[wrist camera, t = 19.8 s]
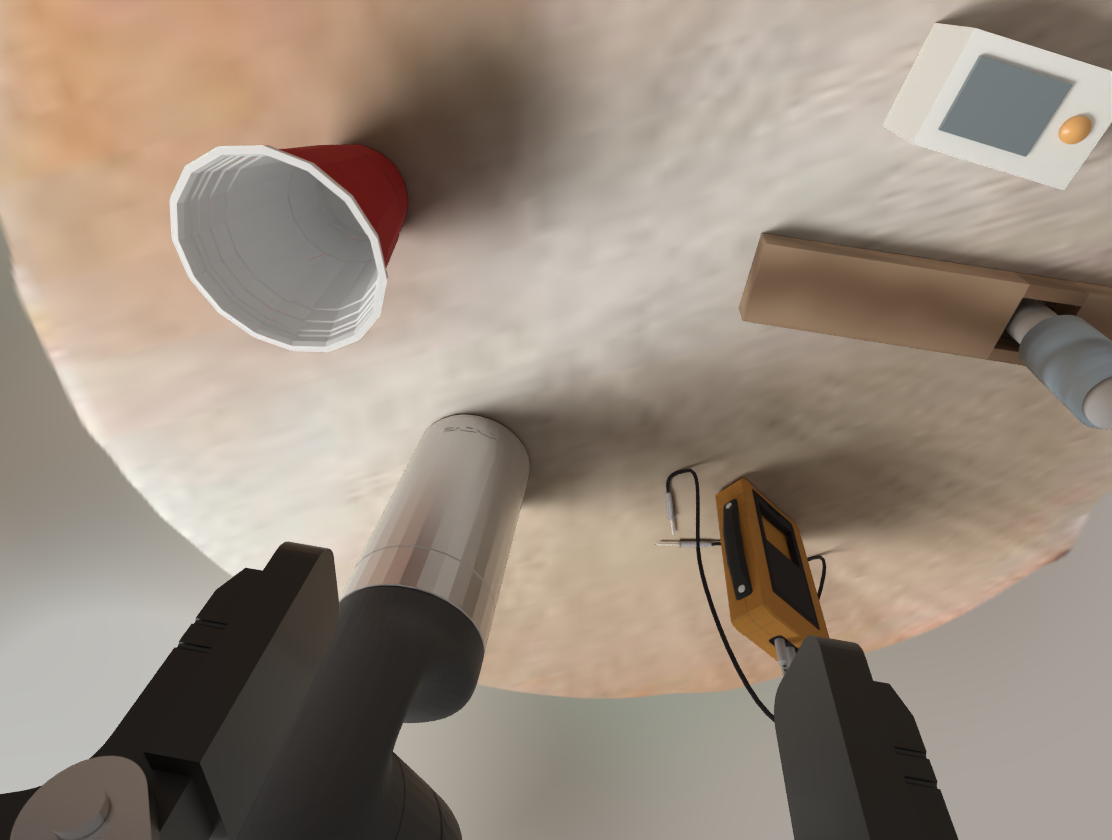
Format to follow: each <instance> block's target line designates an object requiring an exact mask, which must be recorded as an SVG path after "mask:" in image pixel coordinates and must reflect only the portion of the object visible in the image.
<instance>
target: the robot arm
mask: <svg viewBox="0 0 1112 840" xmlns="http://www.w3.org/2000/svg"><path fill="white" fill-rule="evenodd" d="M529 470H530V464H529V457H528V455H527V452H526V450H525V447H524V446H523V444H522V443H521V442H520V440H519V439H518V438H517V437H516V436H515V435H514V434H513V433H512V432H511V431H510V430H509V429H507V428H506V427H504V426H503V425H501V424H500V423H497V422H495V421H493V420H491V419H488V418H484V417H481V416H477V415H454V416H450V417H447V418H443V419H441V420H439V421H437V422H436V423H434V424H432V425H431V426H430V427H429V428H428V429H427V430H426V431H425V433H424V435H423V436H422V438H421V440H420V442H419V444H418V446H417V448H416V450H415V452H414V454H413V456H412V457H411V459H410V461H409V463H408V465H407V467H406V469H405V471H404V473H403V475H402V477H401V479H400V481H399V483H398V485H397V486H396V488H395V490H394V492H393V494H392V496H391V498H390V500H389V502H388V504H387V506H386V508H385V510H384V512H383V514H382V516H381V518H380V520H379V522H378V524H377V526H376V528H375V530H374V532H373V534H372V536H371V538H370V540H369V541H368V543H367V545H366V547H365V549H364V551H363V553H362V555H361V557H360V559H359V561H358V563H357V565H356V567H355V570H354V571H353V573H352V575H351V577H350V579H349V581H348V583H347V585H346V587H345V589H344V591H343V593H342V595H341V597H340V599H338V590H337V581H336V573H335V564H334V556H333V552H332V550H331V549H328V548H322V547H316V546H311V545H305V544H299V543H293V542H284V543H283V544H281V545H280V546H279V548H278V549H277V550H276V552H275V553H274V555H273V556H272V558H271V559H270V561H269V562H268V564H267V565H266V567H265V568H264V570H263V571H261V570H256V569H250V568H245V569H243V570H242V571H241V572H239V573H238V574H237V575H235V576H234V577H233V578H231V579H230V580H229V581H227V582H226V583H225V584H223V585H222V586H221V587H219V588H218V589H217V590H216V591H215V592H214V594H213V595H212V596H211V598H210V599H209V600H208V602H207V603H206V604H205V606H204V607H203V609H202V610H201V611H200V613H199V614H198V616H197V617H196V621H195V623H194V624H191V626H190V627H189V628H188V630H187V631H186V632H185V634H184V635H183V636H182V638H181V639H180V641H179V645H178V647H177V648H174V649H173V650H172V652H171V653H170V655H169V656H168V657H167V659H166V660H165V661H164V663H163V664H162V666H161V667H160V668H159V670H158V671H157V673H156V674H155V675H154V677H153V678H152V680H151V681H150V683H149V684H148V685H147V687H146V688H145V689H144V691H143V692H142V694H141V695H140V696H139V698H138V699H137V700H136V702H135V703H134V705H133V706H132V707H131V709H130V710H129V711H128V713H127V714H126V716H125V717H124V718H123V720H122V721H121V723H120V724H119V725H118V727H117V728H116V730H115V731H114V732H113V734H112V735H111V736H110V738H109V739H108V740H107V741H106V743H105V744H104V745H103V746H102V747H101V748H100V749H99V750H98V751H97V752H96V753H95V754H94V755H93V756H92V757H91V758H89V759H88V760H84V761H81V762H79V763H77V764H75V765H72V766H70V767H68V768H67V769H65V770H63V771H61V772H60V773H58V774H57V775H55V776H54V777H53V778H51V779H50V780H49V781H47V782H46V783H45V784H44V785H42V786H39V787H37V788H33V789H29V790H24V791H19V792H12V793H6V794H0V840H462V836H461V831H460V828H459V825H458V822H457V820H456V818H455V816H454V815H453V813H452V811H451V810H450V809H449V807H448V806H447V804H446V803H445V802H444V800H442V798H441V797H440V796H438V794H437V793H436V792H435V791H434V790H433V789H432V788H430V786H429V785H428V784H427V783H426V782H425V781H424V780H423V779H421V778H420V777H419V776H418V775H417V774H416V773H415V772H414V771H413V770H412V769H411V768H410V767H409V766H408V765H407V764H406V763H404V762H403V761H402V760H401V759H400V758H399V757H398V756H397V755H396V754H395V753H394V752H393V749H394V745H395V742H396V739H397V737H398V734H399V731H400V729H401V726H402V724H403V723H420V722H429V721H435V720H439V719H443V718H446V717H448V716H451V715H453V714H454V713H456V712H458V711H459V710H460V709H462V707H463V706H465V704H466V703H467V702H468V701H469V699H470V698H471V696H472V694H473V692H474V690H475V687H476V684H477V681H478V678H479V674H480V670H481V666H482V662H483V657H484V652H485V648H486V644H487V640H488V636H489V632H490V628H491V624H492V620H493V616H494V612H495V607H496V603H497V599H498V596H499V592H500V588H501V584H502V580H503V576H504V572H505V568H506V564H507V560H508V556H509V552H510V548H511V544H512V540H513V536H514V532H515V528H516V524H517V520H518V516H519V512H520V509H521V505H522V501H523V497H524V493H525V489H526V485H527V481H528V477H529ZM774 721H775V729H776V734H777V740H778V746H779V752H780V758H781V763H782V770H783V775H784V781H785V786H786V793H787V799H788V805H789V811H790V816H791V822H792V828H793V834H794V839H795V840H958V837H957V834H956V832H955V829H954V826H953V823H952V821H951V818H950V815H949V812H948V810H947V807H946V804H945V801H944V799H943V796H942V793H941V791H940V789H937V780H936V777H935V774H934V771H933V769H932V766H931V763H930V760H929V759H927V758H926V749H925V746H924V744H923V741H922V738H921V735H920V733H919V730H918V727H917V725H916V722H915V719H914V717H913V715H912V714H911V712H910V711H909V710H908V708H907V707H906V706H905V704H904V703H903V701H902V700H901V699H900V697H899V696H898V695H897V694H896V692H895V691H894V690H893V688H892V687H891V685H890V684H888V683H882V682H876V681H873V679H872V676H871V673H870V670H869V667H868V663H867V660H866V657H865V655H864V652H863V650H862V648H861V647H860V646H859V645H858V644H856V643H853V642H847V641H842V640H836V639H830V638H824V637H819V636H813V635H809V636H807V637H806V638H805V639H804V641H803V642H802V644H801V646H800V648H799V650H798V651H797V653H796V655H795V657H794V659H793V661H792V662H791V664H790V666H789V668H788V670H787V672H786V673H785V675H784V677H783V679H782V681H781V683H780V684H779V687H778V689H777V693H776V697H775V705H774Z"/></svg>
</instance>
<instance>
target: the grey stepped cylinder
mask: <svg viewBox="0 0 1112 840" xmlns="http://www.w3.org/2000/svg"><path fill="white" fill-rule="evenodd" d="M1005 330H1006V331H1007V332H1008V333H1009V334H1010V335H1011V336H1012V337H1013V338H1014V339H1015V340H1016V341H1017V342H1018V343H1019V344H1020V346H1019V357H1020V360H1021V361H1022V363H1023V364H1024V365H1025V366H1026V367H1027V368H1028V369H1029V370H1030V371H1031V372H1032V373H1033V374H1034V375H1035V376H1036V377H1037V378H1038V379H1039V380H1040V381H1041V382H1042V383H1043V384H1044V385H1045V386H1046V387H1047V388H1048V389H1049V390H1050V391H1051V392H1052V393H1053V394H1054V395H1055V396H1056V397H1057V398H1058V399H1059V400H1060V401H1061V402H1062V403H1063V404H1064V405H1065V406H1066V407H1067V408H1068V409H1069V410H1070V411H1071V412H1072V413H1073V414H1074V415H1075V416H1076V417H1077V418H1078V419H1079V420H1080V421H1081V422H1082V423H1083V424H1085V425H1087V426H1089V427H1093V428H1099V429H1112V341H1111V340H1110V339H1108V338H1107V337H1106V336H1104V335H1103V334H1102V333H1100V332H1099V331H1098V330H1097V329H1095V328H1094V327H1093V326H1091V325H1090V324H1089V323H1087V322H1086V321H1085V320H1084V319H1082V318H1080V317H1077V316H1074V315H1059V316H1058V315H1057V314H1056V313H1055V312H1053V311H1052V310H1051V309H1050V308H1048V307H1047V306H1046V305H1045V304H1043V303H1042V302H1041V301H1040V300H1036V299H1030V298H1024V297H1023V298H1022V300H1021V301H1020V303H1019V305H1018V307H1017V308H1016V310H1015V312H1014V314H1013V315H1012V317H1011V319H1010V321H1009V322H1008V324H1007V326H1006V328H1005Z"/></svg>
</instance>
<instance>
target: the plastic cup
mask: <svg viewBox="0 0 1112 840" xmlns="http://www.w3.org/2000/svg"><path fill="white" fill-rule="evenodd" d="M407 207H408V197H407V191H406V185H405V182H404V180H403V178H402V176H401V175H400V173H399V171H398V169H397V167H396V166H395V165H394V164H393V163H392V162H391V161H390V160H389V159H387V158H386V157H385V156H384V155H383V154H382V153H380V152H378V151H375V150H373V149H370V148H368V147H365V146H362V145H360V144H359V145H317V146H307V147H298V148H289V149H277V148H274V147H271V146H269V145H252V146H218V147H216V148H214V149H213V150H211V151H209V152H208V153H206V154H204V155H203V156H201V157H199V158H198V159H196V160H194V161H193V162H191V163H189V164H188V165H186V166H185V168H184V170H183V172H182V174H181V176H180V178H179V180H178V182H177V184H176V186H175V189H174V191H173V193H172V195H171V197H170V217H171V236H172V241H173V243H174V245H175V247H176V250H177V252H178V254H179V256H180V259H181V261H182V263H183V265H184V268H185V270H186V272H187V274H188V277H189V279H190V280H191V281H192V282H193V283H194V284H195V286H196V287H197V288H198V289H199V290H200V292H201V293H202V294H203V295H204V296H205V297H206V299H207V300H208V301H209V302H210V303H211V304H212V306H213V307H214V308H215V309H216V310H217V312H218V313H220V314H221V315H223V316H224V317H226V318H227V319H228V320H230V321H231V322H233V323H234V324H236V325H237V326H238V327H240V328H241V329H243V330H244V331H246V332H247V333H249V334H250V335H251V336H253V337H254V338H257V339H260V340H263V341H266V342H268V343H271V344H274V345H277V346H280V347H283V348H285V349H288V350H291V351H310V352H330V351H333V350H335V349H338V348H340V347H343V346H346V345H348V344H351V343H353V342H356V341H358V340H360V339H361V338H362V337H363V335H364V334H365V333H366V332H367V331H368V329H369V328H370V327H371V326H372V325H373V323H374V322H375V321H376V320H377V319H378V318H379V316H380V314H381V309H382V304H383V299H384V294H385V289H386V284H387V278H388V275H387V271H386V267H387V265H388V262H389V260H390V257H391V255H392V253H393V250H394V248H395V245H396V243H397V241H398V237H399V232H400V230H401V228H402V226H403V224H404V221H405V216H406V212H407Z"/></svg>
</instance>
